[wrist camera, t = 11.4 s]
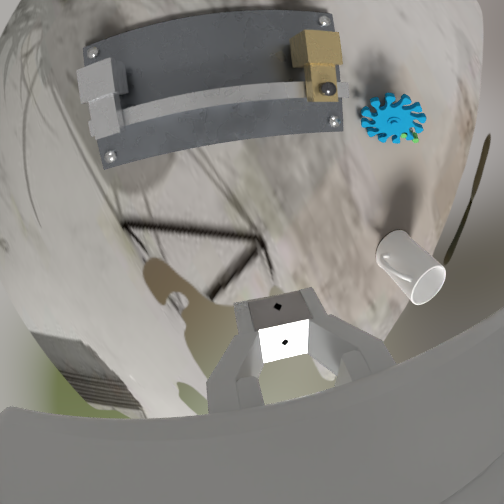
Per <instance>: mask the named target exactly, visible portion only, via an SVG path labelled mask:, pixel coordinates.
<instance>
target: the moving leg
mask: <svg viewBox="0 0 504 504" xmlns="http://www.w3.org/2000/svg"><path fill="white" fill-rule="evenodd" d="M289 41H290V49H291V57H292V66H293V68H304V72H305V82H306V92H307V102H338V91H337V79H336V68H335V66H336V65H342V64H343V62H342V53H341V44H340V37H339V32H331V31H320V30H303V31H301V32H300V33H298V34H297V35H295V36H293V37H292V38H290V39H289Z"/></svg>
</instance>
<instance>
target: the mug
mask: <svg viewBox="0 0 504 504" xmlns="http://www.w3.org/2000/svg"><path fill="white" fill-rule="evenodd" d="M376 262H377V264H378V265H379V266H380V267H381V268H383V269H384V270H385V271H386V272H387V273H388V274H389V276H390V277H391V278H392V279H393V280H394V281H395V282H396V284H397V285H398V286H399V287H400V288H401V289H402V291H403V292H404V293H405V294H406V295H407V296H408V298H409V299H410V300H411V301H412V302H413V303H414V304H416V305H419V304H423V303H426V302H427V301H429V300H430V299H431V298H432V297H434V296H435V295H436V294H437V293H438V291H439V290H440V288H441V287H442V285H443V283H444V280H445V276H446V271H445V268H444V267H443V266H442V265H441V264H440V263H439V262H438V261H437V260H436V259H435V258H433V257H432V256H431V255H430V254H429V253H428V252H427V251H426V250H424V249H423V248H422V247H421V246H420V245H419V244H417V243H416V242H415V241H414V240H413V239H412V238H411V237H410V236H409V235H408V234H407V233H406V232H405V231H403V230H396V231H393V232H391V233H389V234H388V235H386V236H385V237H384V238H383V240H382V241H381V242H380V244H379V246H378V248H377V251H376Z"/></svg>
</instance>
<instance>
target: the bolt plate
mask: <svg viewBox="0 0 504 504" xmlns="http://www.w3.org/2000/svg"><path fill="white" fill-rule="evenodd" d="M303 30H320V31H331V32H335V30H334V23H333V17H332V14H329V13H320V12H309V11H292V10H250V11H233V12H222V13H213V14H205V15H198V16H192V17H186V18H181V19H175V20H171V21H166V22H161V23H157V24H153V25H149V26H145V27H142V28H138V29H135V30H131V31H128V32H125V33H122V34H119V35H116V36H113V37H110V38H107V39H104V40H102V41H99V42H96V43H94V44H91V45H89V46H86V47H84V48H83V54H84V64H85V67H86V66H88V65H91V64H93V63H96V62H99V61H101V60H104V59H107V58H110V57H111V58H113V59H116V60H118V61H120V62H123V63H125V70H126V77H127V84H128V91H129V93H126V94H123V95H120V96H119V99H120V105H121V110H123V109H126V108H129V107H133V106H136V105H140V104H144V103H148V102H151V101H155V100H160V99H164V98H168V97H173V96H177V95H182V94H187V93H193V92H198V91H204V90H210V89H217V88H224V87H232V86H240V85H250V84H262V83H277V82H305V72H304V68H293V66H292V57H291V49H290V41H289V39H290V38H292V37H293V36H295V35H297V34H298V33H300V32H301V31H303ZM335 68H336V79H337V82H340V71H339V65H336V66H335ZM124 127H125V131H122V132H119V133H116V134H113V135H110V136H107V137H103V138H100V139H97V142H98V147H99V151H100V155H101V160H102V164H103V168H104V170H105V169H108V168H112V167H115V166H119V165H122V164H126V163H129V162H133V161H137V160H141V159H145V158H149V157H153V156H157V155H162V154H166V153H171V152H175V151H180V150H185V149H190V148H195V147H200V146H206V145H211V144H217V143H224V142H230V141H237V140H244V139H251V138H259V137H268V136H278V135H288V134H300V133H315V132H336V131H343V112H342V97H338V102H307V98H284V99H270V100H258V101H248V102H240V103H232V104H224V105H218V106H211V107H205V108H199V109H194V110H189V111H184V112H179V113H174V114H169V115H165V116H161V117H157V118H153V119H149V120H145V121H141V122H137V123H134V124H130V125H127V126H124Z"/></svg>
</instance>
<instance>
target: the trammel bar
mask: <svg viewBox="0 0 504 504" xmlns="http://www.w3.org/2000/svg"><path fill="white" fill-rule="evenodd" d="M77 79H78V86H79V93H80V100H81V104H84V103H89V109H90V114H91V120H90V121H88V124H89V129H90V134H91V137H92V136H95V139H96V140H97V139H100V138H103V137H107V136H110V135H113V134H116V133H119V132H122V131H125V127H124V126H127V125H130V124H134V123H137V122H141V121H145V120H149V119H153V118H157V117H161V116H165V115H169V114H174V113H179V112H184V111H189V110H194V109H199V108H205V107H211V106H218V105H224V104H232V103H240V102H248V101H258V100H270V99H284V98H307V92H306V82H277V83H262V84H250V85H240V86H232V87H224V88H217V89H210V90H204V91H198V92H193V93H187V94H182V95H177V96H173V97H168V98H164V99H160V100H155V101H151V102H148V103H144V104H140V105H136V106H133V107H129V108H126V109H123V110H121V105H120V99H119V96H120V95H123V94H126V93H129V91H128V84H127V77H126V70H125V63H123V62H120V61H118V60H116V59H113V58H111V57H110V58H107V59H104V60H101V61H99V62H96V63H93V64H91V65H88V66H86V67H83V68H81V69H79V70H77ZM337 91H338V97H342V98H349V89H348V83H346V82H337Z"/></svg>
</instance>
